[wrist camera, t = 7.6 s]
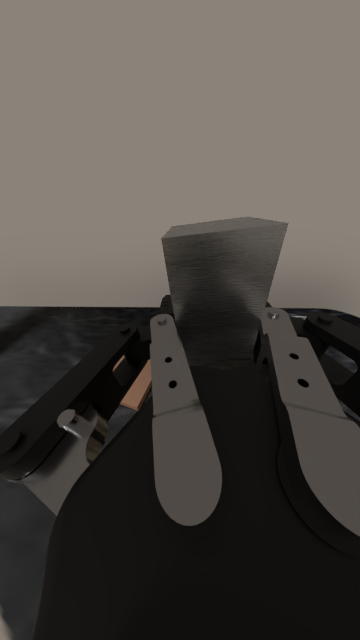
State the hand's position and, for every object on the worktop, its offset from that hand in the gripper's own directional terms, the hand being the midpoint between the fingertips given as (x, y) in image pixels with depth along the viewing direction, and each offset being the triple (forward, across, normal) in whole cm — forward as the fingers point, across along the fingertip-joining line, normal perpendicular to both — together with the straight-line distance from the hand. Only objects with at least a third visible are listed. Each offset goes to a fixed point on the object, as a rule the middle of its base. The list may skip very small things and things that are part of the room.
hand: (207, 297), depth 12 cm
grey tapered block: (-3, 0, +9) cm, 9 cm away
